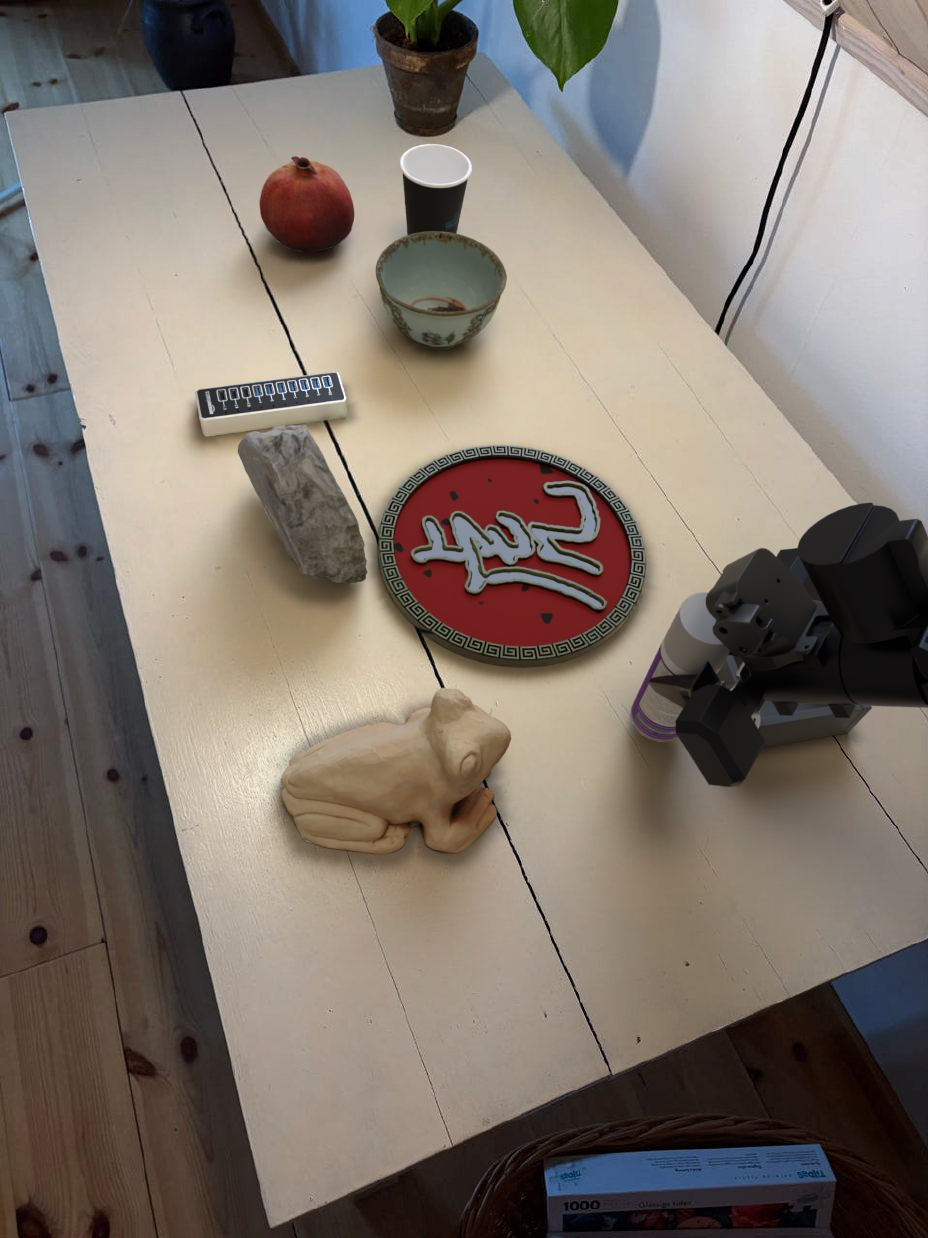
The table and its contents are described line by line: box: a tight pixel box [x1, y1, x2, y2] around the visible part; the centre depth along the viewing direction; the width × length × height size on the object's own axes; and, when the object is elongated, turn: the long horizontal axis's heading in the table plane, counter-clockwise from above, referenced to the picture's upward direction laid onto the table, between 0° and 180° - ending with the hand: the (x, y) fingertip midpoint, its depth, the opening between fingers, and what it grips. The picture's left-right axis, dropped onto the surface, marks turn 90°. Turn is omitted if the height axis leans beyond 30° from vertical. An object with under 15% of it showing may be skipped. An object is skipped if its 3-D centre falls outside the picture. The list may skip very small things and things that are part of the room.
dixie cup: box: [399, 143, 473, 235], centre depth 108 cm, size 8×8×11 cm
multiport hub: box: [194, 371, 348, 437], centre depth 95 cm, size 4×14×2 cm, turn 106°
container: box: [630, 591, 730, 743], centre depth 72 cm, size 5×5×15 cm
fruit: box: [258, 155, 355, 253], centre depth 107 cm, size 11×10×10 cm
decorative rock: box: [237, 424, 368, 585], centre depth 81 cm, size 16×7×15 cm, turn 28°
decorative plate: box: [377, 444, 647, 668], centre depth 88 cm, size 25×1×25 cm
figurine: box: [280, 687, 512, 855], centre depth 71 cm, size 12×17×10 cm
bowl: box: [375, 231, 508, 351], centre depth 101 cm, size 14×13×8 cm
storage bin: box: [717, 655, 873, 748], centre depth 81 cm, size 11×11×5 cm
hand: (666, 661), depth 73 cm, fingers closed on container, 5 cm apart
